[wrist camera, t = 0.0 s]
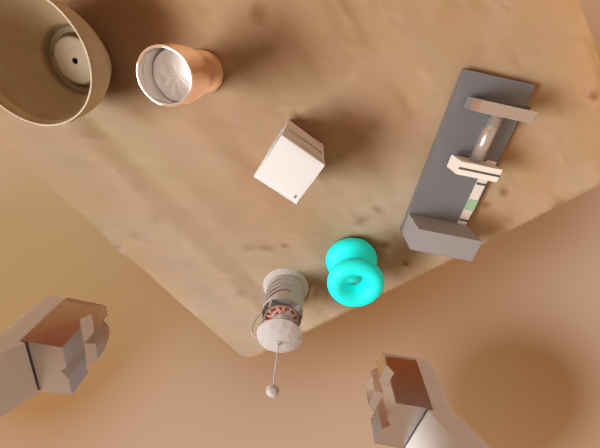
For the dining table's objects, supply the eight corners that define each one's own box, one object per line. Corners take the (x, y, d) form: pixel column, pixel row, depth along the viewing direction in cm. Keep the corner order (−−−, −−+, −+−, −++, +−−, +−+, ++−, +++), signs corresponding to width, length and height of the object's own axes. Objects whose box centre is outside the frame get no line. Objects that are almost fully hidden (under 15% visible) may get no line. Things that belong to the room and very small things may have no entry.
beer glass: (173, 60, 50) (121, 61, 36) (210, 37, 48) (170, 29, 35) (198, 103, 52) (158, 119, 39) (234, 83, 51) (206, 91, 38)
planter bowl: (151, 48, 49) (110, 45, 39) (111, 133, 55) (67, 149, 46) (46, -31, 45) (-28, -56, 35) (15, 70, 51) (-54, 73, 42)
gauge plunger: (468, 93, 48) (484, 96, 44) (519, 104, 49) (539, 109, 44) (445, 150, 52) (457, 159, 48) (492, 160, 53) (508, 169, 48)
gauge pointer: (451, 154, 52) (461, 161, 48) (489, 162, 52) (503, 170, 49) (446, 166, 53) (456, 174, 49) (484, 174, 53) (496, 182, 50)
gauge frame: (462, 69, 49) (484, 70, 42) (531, 84, 49) (563, 88, 43) (400, 229, 61) (410, 249, 55) (455, 240, 62) (471, 261, 56)
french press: (317, 292, 69) (319, 403, 47) (274, 314, 72) (256, 428, 50) (291, 260, 66) (278, 363, 43) (246, 285, 69) (214, 393, 47)
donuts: (393, 300, 57) (340, 317, 59) (382, 267, 66) (336, 283, 68) (374, 256, 53) (318, 275, 55) (365, 227, 62) (317, 245, 64)
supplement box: (324, 144, 55) (327, 166, 43) (299, 177, 58) (296, 206, 46) (288, 117, 53) (282, 133, 42) (264, 153, 56) (252, 177, 45)
